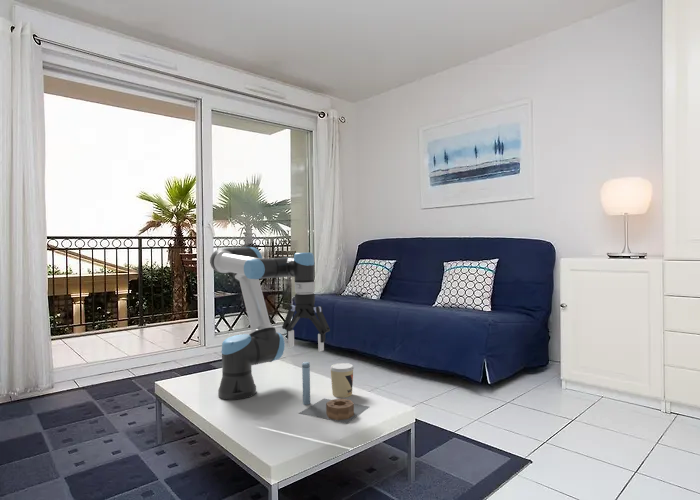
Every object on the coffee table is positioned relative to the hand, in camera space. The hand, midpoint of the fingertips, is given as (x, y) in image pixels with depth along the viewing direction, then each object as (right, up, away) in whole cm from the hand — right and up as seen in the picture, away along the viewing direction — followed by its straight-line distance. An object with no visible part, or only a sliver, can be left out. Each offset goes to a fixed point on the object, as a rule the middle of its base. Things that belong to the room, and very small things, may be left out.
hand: (305, 349), depth 166 cm
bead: (+13, -20, -11) cm, 27 cm away
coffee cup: (+14, -21, +10) cm, 27 cm away
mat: (+11, -21, -7) cm, 25 cm away
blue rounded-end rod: (0, -21, 0) cm, 21 cm away
